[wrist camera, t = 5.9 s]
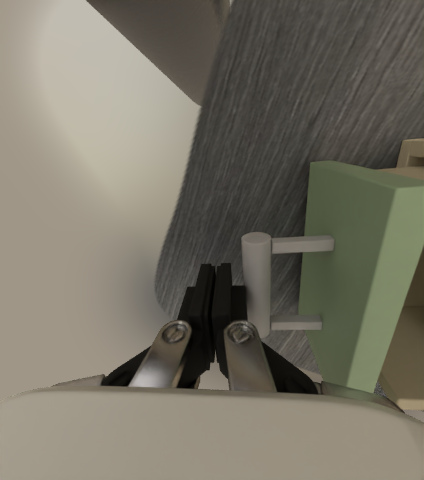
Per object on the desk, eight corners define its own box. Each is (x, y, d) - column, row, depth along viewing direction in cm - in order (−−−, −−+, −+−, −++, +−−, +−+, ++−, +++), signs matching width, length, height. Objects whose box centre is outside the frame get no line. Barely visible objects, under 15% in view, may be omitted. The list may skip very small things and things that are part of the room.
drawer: (244, 313, 18) (251, 416, 11) (237, 169, 13) (240, 200, 6) (492, 309, 15) (685, 436, 9) (593, 134, 11) (1166, 127, 4)
